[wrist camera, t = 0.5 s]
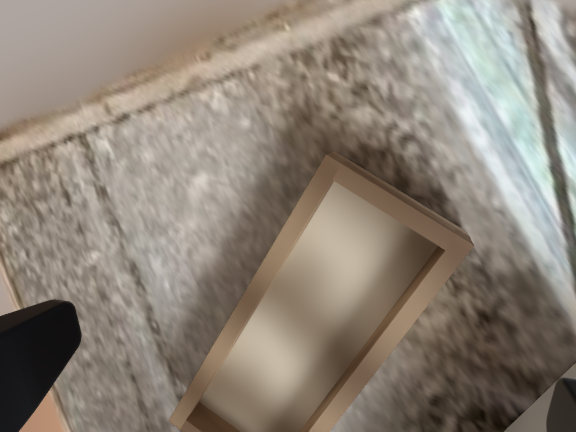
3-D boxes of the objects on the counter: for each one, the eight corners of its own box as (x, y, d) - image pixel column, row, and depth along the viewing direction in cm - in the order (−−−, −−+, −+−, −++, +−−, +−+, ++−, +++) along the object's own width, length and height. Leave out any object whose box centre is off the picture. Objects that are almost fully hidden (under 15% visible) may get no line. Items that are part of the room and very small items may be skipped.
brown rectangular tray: (287, 466, 25) (275, 500, 23) (189, 395, 26) (168, 421, 24) (466, 231, 20) (474, 245, 17) (334, 150, 21) (326, 154, 18)
